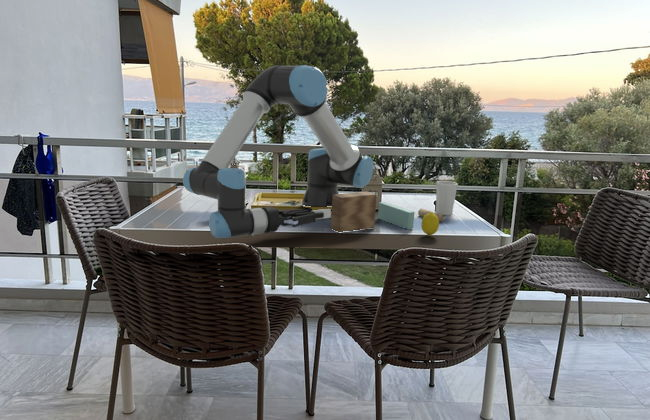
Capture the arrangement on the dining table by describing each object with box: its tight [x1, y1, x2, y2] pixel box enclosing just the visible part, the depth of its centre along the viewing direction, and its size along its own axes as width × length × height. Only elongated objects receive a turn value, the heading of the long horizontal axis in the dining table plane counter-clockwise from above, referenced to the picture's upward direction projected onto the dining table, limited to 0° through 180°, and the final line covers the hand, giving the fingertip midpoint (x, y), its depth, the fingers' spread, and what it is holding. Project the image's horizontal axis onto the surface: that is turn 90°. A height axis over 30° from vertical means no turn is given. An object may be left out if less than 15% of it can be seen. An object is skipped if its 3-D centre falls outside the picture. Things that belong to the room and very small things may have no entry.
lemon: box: [420, 211, 440, 237], centre depth 160 cm, size 6×6×8 cm
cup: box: [435, 180, 458, 216], centre depth 192 cm, size 8×8×12 cm
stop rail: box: [377, 201, 415, 230], centre depth 174 cm, size 2×16×6 cm, turn 32°
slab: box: [330, 191, 377, 232], centre depth 164 cm, size 14×5×12 cm, turn 122°
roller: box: [417, 208, 444, 223], centre depth 183 cm, size 10×3×3 cm
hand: (329, 212), depth 159 cm, fingers closed
